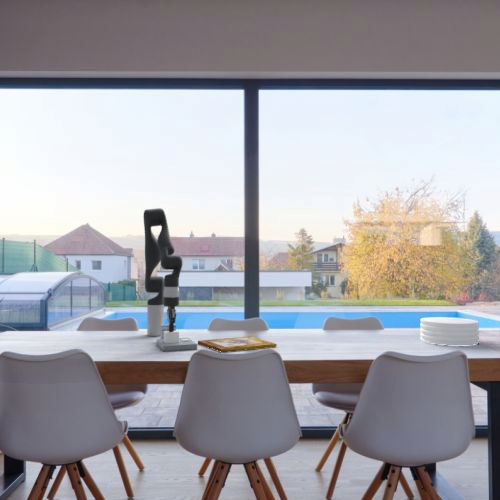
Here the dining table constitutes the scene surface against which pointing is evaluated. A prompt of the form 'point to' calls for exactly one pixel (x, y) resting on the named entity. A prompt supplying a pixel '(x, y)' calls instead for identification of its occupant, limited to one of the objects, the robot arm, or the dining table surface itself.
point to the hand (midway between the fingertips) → (171, 331)
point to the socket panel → (177, 345)
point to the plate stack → (449, 330)
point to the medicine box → (164, 328)
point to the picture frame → (236, 343)
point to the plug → (171, 337)
